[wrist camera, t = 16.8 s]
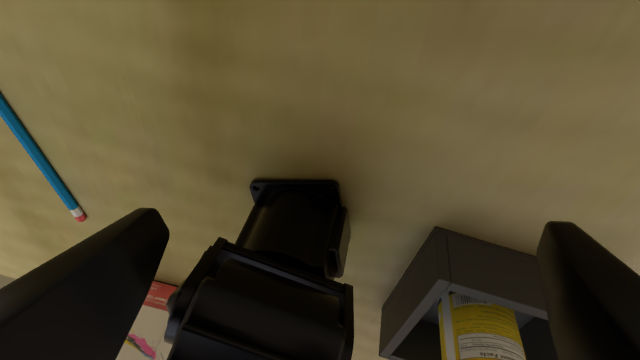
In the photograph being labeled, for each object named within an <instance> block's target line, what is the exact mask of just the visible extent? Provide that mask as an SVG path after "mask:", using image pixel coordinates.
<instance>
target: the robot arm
mask: <svg viewBox="0 0 640 360" xmlns="http://www.w3.org/2000/svg"><path fill="white" fill-rule="evenodd" d="M256 186H258V187H259V188H257V187H256ZM249 187H250V191H251V194H252V197H253V199H254V202H255V204H254V206H253V208H252V210H251V212H250V214H249V216H248V218H247V220H246V222H245V224H244V226H243V228H242V230H241V232H240V234H239V236H238V238H237V240H236V242H235V244H233V243H230V242H228V240H227V239H224V238H221V237H219V238H218V239H217V241H216V242H215V243H214V245H213V246H210V247H209V248H208V250H207V251H205V252H204V254H203V256H202V257H201V259H200V261H199V262H198V264H197V265H196V266H195V268H194V269H193V271H192V272H191V273H190V275H189V276H188V278H187V279H186V280H185V281H184V282H183V283H182V284H181V285H180V286H179V287H178V288H177V289H176V290H175V291H174V292H173V293H172V294H171V295H170V296H169V298H168V300H167V303H166V307H167V310H168V313H169V318H168V322H167V327H166V331H165V335H164V342H166V343H169V344H172V348H171V350H170V353H169V355H168V357H167V360H351V356H352V351H353V344H354V312H353V286H351V285H349V284H346V283H344V284H342V283H339V282H336V281H334V278H340V277H341V276H342V275H343V273H344V267H345V261H346V256H347V250H348V244H349V239H350V225H349V218H348V210H347V209H346V207H344V206H342V200H341V193H340V187H339V184H338V183H337V182H336V181H334V180H253V181H252V182H251V184H250V186H249ZM330 187H333V188H334V189H332V188H330ZM168 240H169V229H168V228H167V226H166V224H165V222H164V221H163V219H162V217H161V215H160V214H159V212H158V211H157V210H156V209H154V208H139V209H137V210H135V211H133V212H131V213H130V214H128V215H126V216H125V217H123V218H121V219H119V220H118V221H116V222H114V223H113V224H111V225H109V226H107V227H106V228H104V229H102V230H100V231H99V232H97V233H95V234H94V235H92V236H90V237H88V238H87V239H85V240H83V241H82V242H80V243H78V244H76V245H75V246H73V247H71V248H70V249H68V250H66V251H64V252H63V253H61V254H59V255H58V256H56V257H54V258H52V259H51V260H49V261H47V262H46V263H44V264H42V265H40V266H39V267H37V268H35V269H34V270H32V271H30V272H28V273H27V274H25V275H23V276H22V277H20V278H18V279H16V280H15V281H13V282H11V283H10V284H8V285H6V286H4V287H3V288H1V289H0V360H116V358H117V356H118V354H119V352H120V350H121V348H122V346H123V344H124V342H125V340H126V338H127V336H128V334H129V332H130V330H131V328H132V325H133V323H134V321H135V319H136V317H137V315H138V313H139V311H140V309H141V307H142V305H143V303H144V301H145V299H146V297H147V295H148V292H149V290H150V288H151V285H152V283H153V280H154V277H155V275H156V272H157V269H158V267H159V264H160V261H161V259H162V256H163V253H164V251H165V248H166V245H167V243H168ZM537 262H538V268H539V273H540V279H541V284H542V290H543V295H544V300H545V306H546V311H547V317H548V322H549V327H550V331H551V335H552V338H553V342H554V345H555V348H556V352H557V355H558V358H559V360H640V276H639V275H638V274H637V273H636V272H634V271H633V270H632V269H631V268H629V267H628V266H627V265H626V264H624V263H623V262H622V261H621V260H619V259H618V258H617V257H616V256H614V255H613V254H612V253H611V252H609V251H608V250H607V249H606V248H604V247H603V246H602V245H601V244H599V243H598V242H597V241H596V240H594V239H593V238H592V237H591V236H589V235H588V234H587V233H586V232H584V231H583V230H582V229H581V228H579V227H578V226H577V225H575V224H574V223H572V222H564V221H550V222H548V223H547V224H546V225H545V227H544V230H543V233H542V236H541V239H540V242H539V245H538V248H537Z"/></svg>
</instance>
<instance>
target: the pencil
mask: <svg viewBox="0 0 640 360" xmlns="http://www.w3.org/2000/svg"><path fill="white" fill-rule="evenodd" d="M0 115H1V117H2V118H3V120H4V121H5V122H6V124H7V125H8V126H9V128H10V129H11V131H12V132H13V133H14V135H15V136H16V137H17V139H18V140H19V142H20V143H21V144H22V146H23V147H24V148H25V150H26V151H27V153H28V154H29V155H30V157H31V158H32V159H33V161H34V162H35V164H36V165H37V166H38V168H39V169H40V170H41V172H42V173H43V175H44V176H45V177H46V179H47V180H48V181H49V183H50V184H51V186H52V187H53V188H54V190H55V191H56V192H57V194H58V195H59V197H60V198H61V199H62V201H63V202H64V203H65V205H66V206H67V208H68V209H69V210H70V212H71V213H72V214H73V216H74V217H75V218H76V220H77V221H78V222H83V221H84V220H86V218H87V217H86V215H85V214H84V212H83V211H82V210H81V208H80V207H79V205H78V204H77V202H76V201H75V200H74V198H73V197H72V195H71V194H70V192H69V191H68V190H67V188H66V187H65V185H64V184H63V182H62V181H61V179H60V178H59V177H58V175H57V174H56V172H55V171H54V169H53V168H52V167H51V165H50V164H49V162H48V161H47V159H46V158H45V157H44V155H43V154H42V152H41V151H40V149H39V148H38V147H37V145H36V144H35V142H34V141H33V139H32V138H31V137H30V135H29V134H28V132H27V131H26V129H25V128H24V127H23V125H22V124H21V122H20V121H19V119H18V118H17V117H16V115H15V114H14V112H13V111H12V109H11V108H10V107H9V105H8V104H7V102H6V101H5V99H4V98H3V97H2V95H1V94H0Z"/></svg>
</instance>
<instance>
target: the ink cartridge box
mask: <svg viewBox="0 0 640 360" xmlns="http://www.w3.org/2000/svg"><path fill="white" fill-rule="evenodd" d="M177 288H178V287H174V286H171V285H167V284H163V283H160V282H156V281H153V283H152V285H151V288H150V290H149V292H148V295H147V297H146V299H145V301H144V303H143V305H142V307H141V309H140V311H139V313H138V315H137V317H136V319H135V321H134V323H133V325H132V328H131V330H130V332H129V334H128V336H127V338H126V340H125V342H124V344H123V346H122V348H121V350H120V352H119V354H118V356H117V358H116V360H167V357H168V355H169V353H170V350H171V348H172V344H169V343H166V342H164V335H165V331H166V327H167V322H168V318H169V313H168V310H167V307H166V303H167V300H168V298H169V296H170V295H171V294H172V293H173V292H174V291H175V290H176V289H177Z"/></svg>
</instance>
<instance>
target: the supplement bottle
mask: <svg viewBox="0 0 640 360" xmlns="http://www.w3.org/2000/svg"><path fill="white" fill-rule="evenodd" d="M438 316H439V329H440V342H441V354H442V360H526V357H525V353H524V349H523V345H522V341H521V338H520V334H519V330H518V326H517V322H516V318H515V315H514V311H513V310H512V309H509V308H506V307H502V306H499V305H496V304H492V303H489V302H486V301H483V300H479V299H476V298H473V297H469V296H466V295H463V294H459V293H456V292H453V291H449V290H447V289H445V290H444V291H443V293H442V294H441V295H440V296H439V297H438Z"/></svg>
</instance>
